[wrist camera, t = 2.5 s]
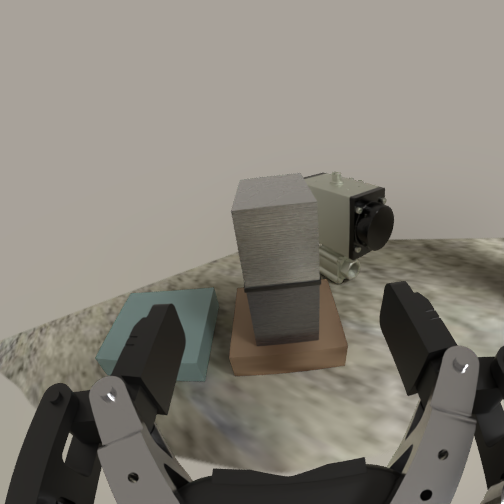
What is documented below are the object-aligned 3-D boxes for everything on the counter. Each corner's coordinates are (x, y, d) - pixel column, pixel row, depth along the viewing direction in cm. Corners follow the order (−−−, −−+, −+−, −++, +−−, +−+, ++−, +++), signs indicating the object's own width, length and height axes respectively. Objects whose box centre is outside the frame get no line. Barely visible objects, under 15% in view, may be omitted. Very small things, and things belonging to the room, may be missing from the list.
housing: (308, 286, 26) (301, 172, 21) (320, 340, 20) (319, 201, 15) (257, 291, 27) (238, 179, 22) (255, 347, 21) (229, 212, 15)
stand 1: (218, 305, 30) (213, 287, 29) (204, 381, 21) (196, 363, 20) (138, 310, 31) (130, 293, 29) (107, 375, 22) (95, 358, 21)
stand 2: (326, 298, 28) (326, 278, 27) (344, 365, 20) (347, 345, 19) (241, 307, 29) (237, 288, 28) (235, 376, 21) (229, 357, 20)
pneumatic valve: (360, 306, 26) (367, 189, 20) (292, 261, 36) (283, 168, 30) (391, 283, 28) (401, 178, 23) (324, 247, 38) (320, 160, 32)
